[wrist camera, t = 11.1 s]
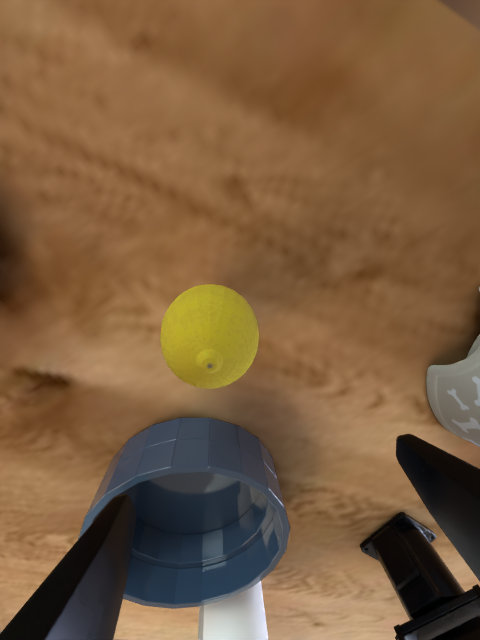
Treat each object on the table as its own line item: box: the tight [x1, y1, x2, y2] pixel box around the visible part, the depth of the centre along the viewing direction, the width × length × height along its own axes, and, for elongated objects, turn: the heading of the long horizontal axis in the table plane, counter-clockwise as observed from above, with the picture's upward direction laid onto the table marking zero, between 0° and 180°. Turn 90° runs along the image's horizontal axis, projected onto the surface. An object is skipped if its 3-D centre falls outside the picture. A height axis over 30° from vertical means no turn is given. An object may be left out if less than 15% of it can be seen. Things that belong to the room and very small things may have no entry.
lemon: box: [160, 284, 259, 388], centre depth 14 cm, size 6×6×8 cm
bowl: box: [78, 418, 290, 609], centre depth 21 cm, size 15×15×5 cm
